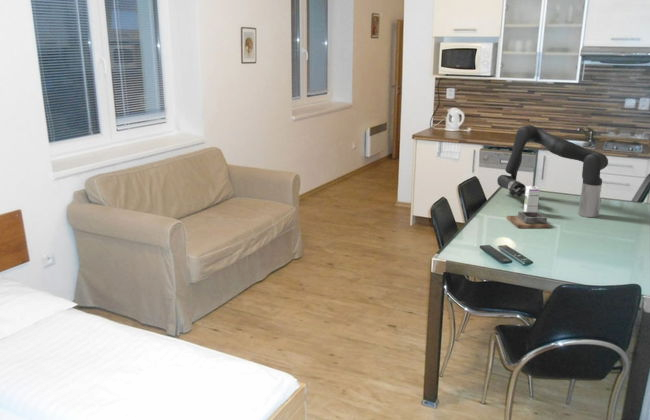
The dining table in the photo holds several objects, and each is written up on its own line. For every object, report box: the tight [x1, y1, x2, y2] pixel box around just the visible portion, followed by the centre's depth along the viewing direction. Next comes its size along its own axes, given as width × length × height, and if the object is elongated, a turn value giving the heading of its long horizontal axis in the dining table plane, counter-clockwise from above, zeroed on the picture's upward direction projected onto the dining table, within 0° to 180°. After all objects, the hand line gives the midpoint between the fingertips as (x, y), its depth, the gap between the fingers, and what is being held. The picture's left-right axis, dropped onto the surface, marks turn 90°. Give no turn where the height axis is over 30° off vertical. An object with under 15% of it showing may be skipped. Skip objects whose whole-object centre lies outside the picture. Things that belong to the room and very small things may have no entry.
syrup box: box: [523, 185, 541, 212], centre depth 307 cm, size 6×6×14 cm
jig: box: [506, 211, 551, 229], centre depth 291 cm, size 16×16×4 cm
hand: (527, 195), depth 312 cm, fingers open, 8 cm apart
